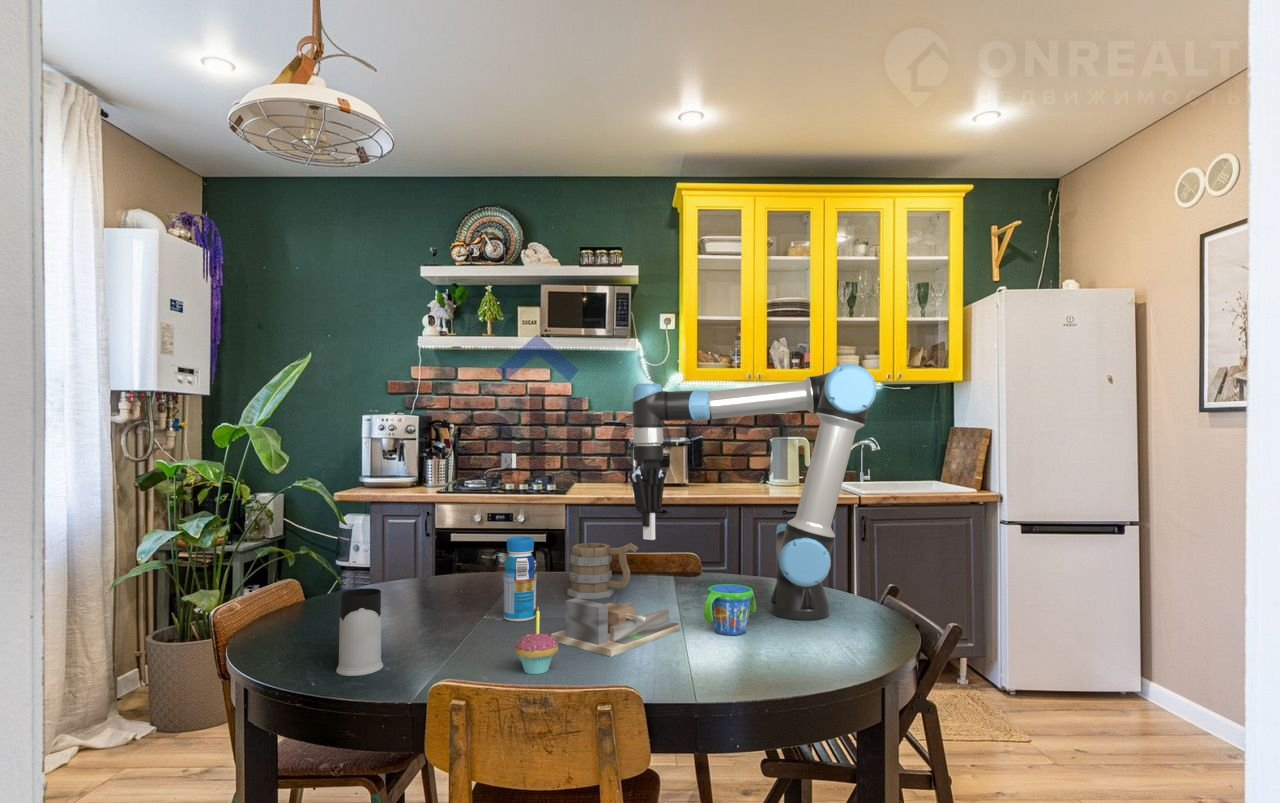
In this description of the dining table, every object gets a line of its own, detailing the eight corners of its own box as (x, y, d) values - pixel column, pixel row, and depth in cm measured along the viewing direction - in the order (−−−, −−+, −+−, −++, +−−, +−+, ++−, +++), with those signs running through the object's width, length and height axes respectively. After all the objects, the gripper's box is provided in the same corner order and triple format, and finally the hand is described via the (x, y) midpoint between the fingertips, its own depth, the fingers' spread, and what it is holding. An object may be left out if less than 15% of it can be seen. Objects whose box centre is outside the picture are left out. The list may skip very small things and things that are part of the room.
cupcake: (517, 663, 144) (517, 604, 145) (559, 662, 145) (559, 603, 145) (513, 678, 136) (513, 615, 136) (557, 677, 136) (558, 614, 137)
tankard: (563, 598, 199) (564, 545, 200) (575, 588, 212) (575, 538, 212) (633, 601, 196) (633, 547, 197) (641, 591, 208) (641, 540, 209)
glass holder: (336, 678, 136) (337, 599, 136) (335, 656, 149) (337, 584, 149) (384, 672, 139) (385, 595, 140) (380, 651, 152) (381, 580, 153)
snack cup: (740, 621, 176) (740, 580, 176) (770, 632, 167) (770, 588, 167) (690, 631, 167) (690, 588, 167) (719, 643, 158) (719, 597, 159)
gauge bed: (680, 630, 168) (680, 589, 168) (611, 656, 149) (611, 611, 149) (622, 617, 179) (622, 579, 180) (550, 640, 160) (551, 598, 160)
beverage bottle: (496, 620, 177) (496, 539, 177) (514, 612, 184) (515, 535, 185) (525, 623, 173) (526, 541, 174) (542, 615, 181) (543, 537, 182)
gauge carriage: (652, 632, 160) (652, 611, 160) (635, 638, 155) (635, 617, 155) (609, 622, 168) (609, 602, 168) (592, 627, 163) (592, 607, 163)
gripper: (651, 444, 186) (652, 534, 185) (620, 445, 175) (621, 541, 174) (675, 444, 181) (676, 537, 180) (644, 445, 171) (645, 544, 170)
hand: (649, 539), depth 177 cm, fingers closed
